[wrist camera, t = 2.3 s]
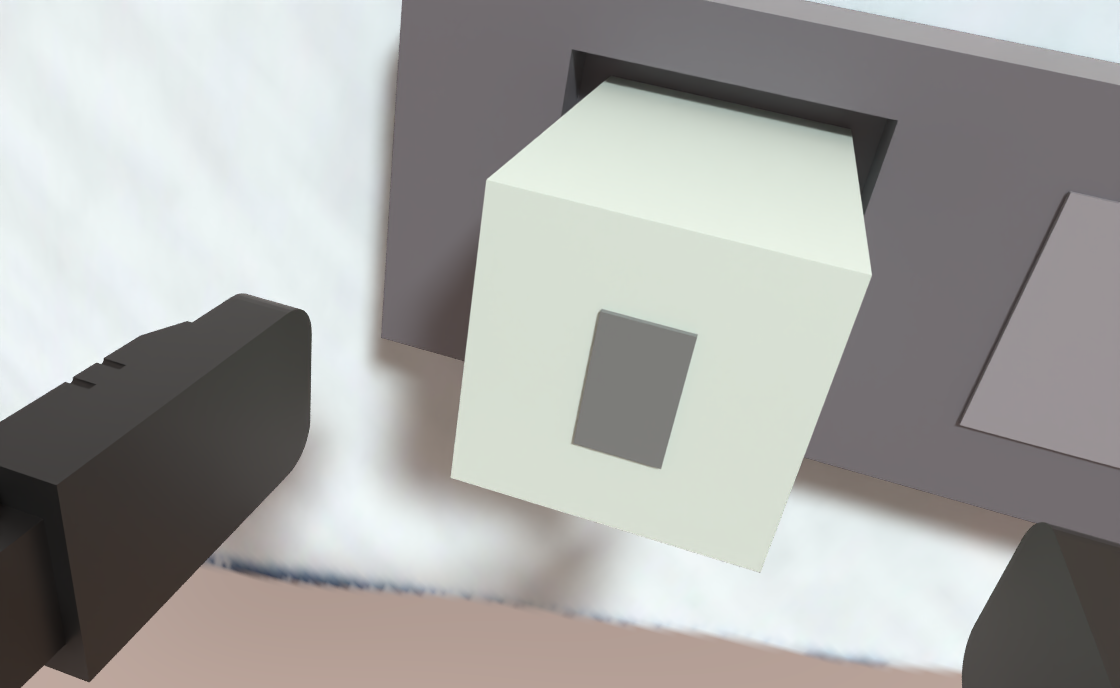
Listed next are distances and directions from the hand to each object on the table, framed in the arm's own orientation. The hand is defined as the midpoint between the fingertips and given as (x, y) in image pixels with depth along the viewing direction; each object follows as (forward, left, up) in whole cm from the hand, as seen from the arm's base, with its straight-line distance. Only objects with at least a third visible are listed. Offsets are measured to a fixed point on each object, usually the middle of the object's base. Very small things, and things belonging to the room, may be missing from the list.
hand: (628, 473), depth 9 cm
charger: (0, 0, -9) cm, 9 cm away
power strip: (+9, 0, -11) cm, 14 cm away
